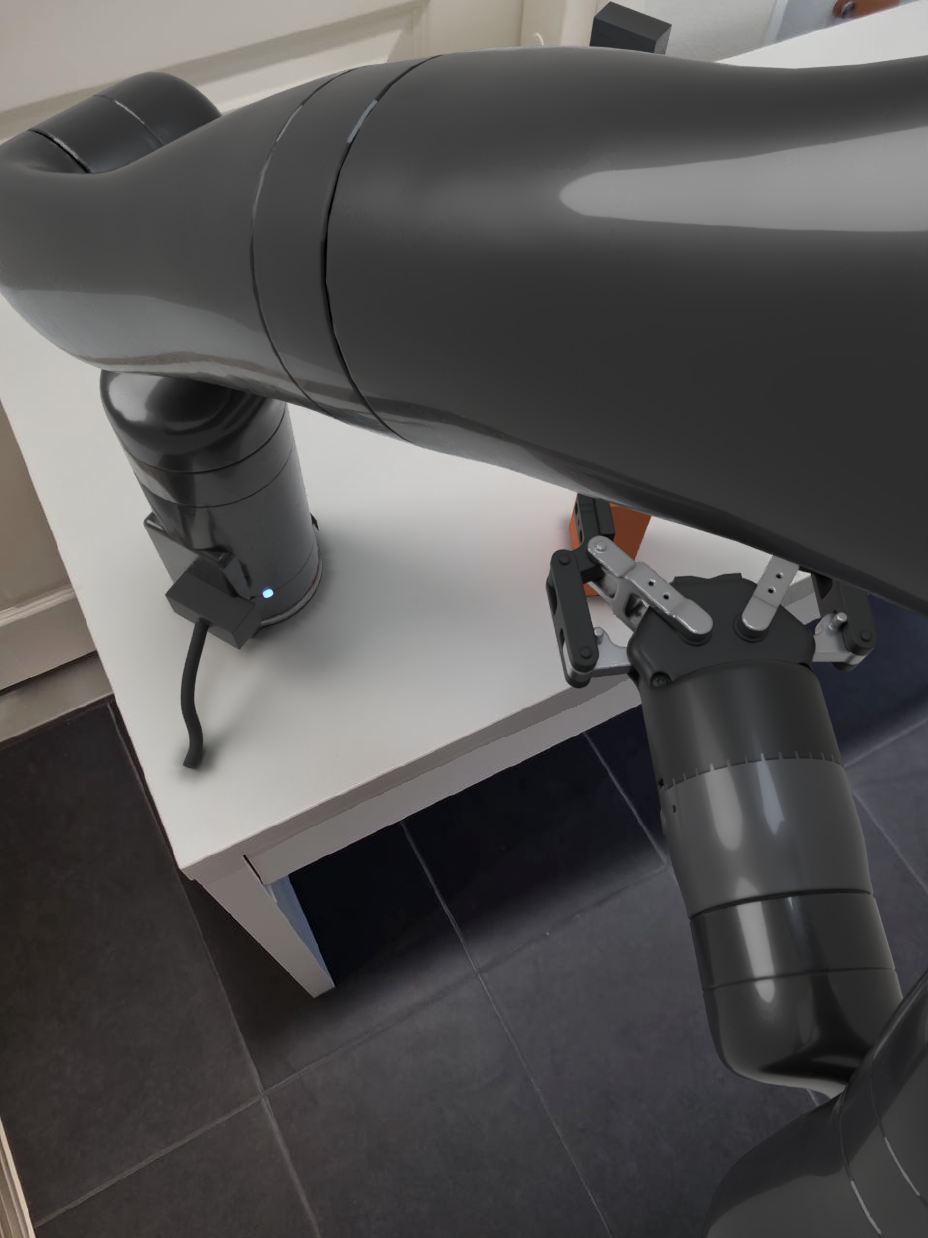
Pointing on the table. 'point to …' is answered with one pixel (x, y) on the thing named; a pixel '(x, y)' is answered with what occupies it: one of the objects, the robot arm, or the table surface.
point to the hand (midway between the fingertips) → (677, 479)
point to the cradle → (629, 30)
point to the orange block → (619, 533)
